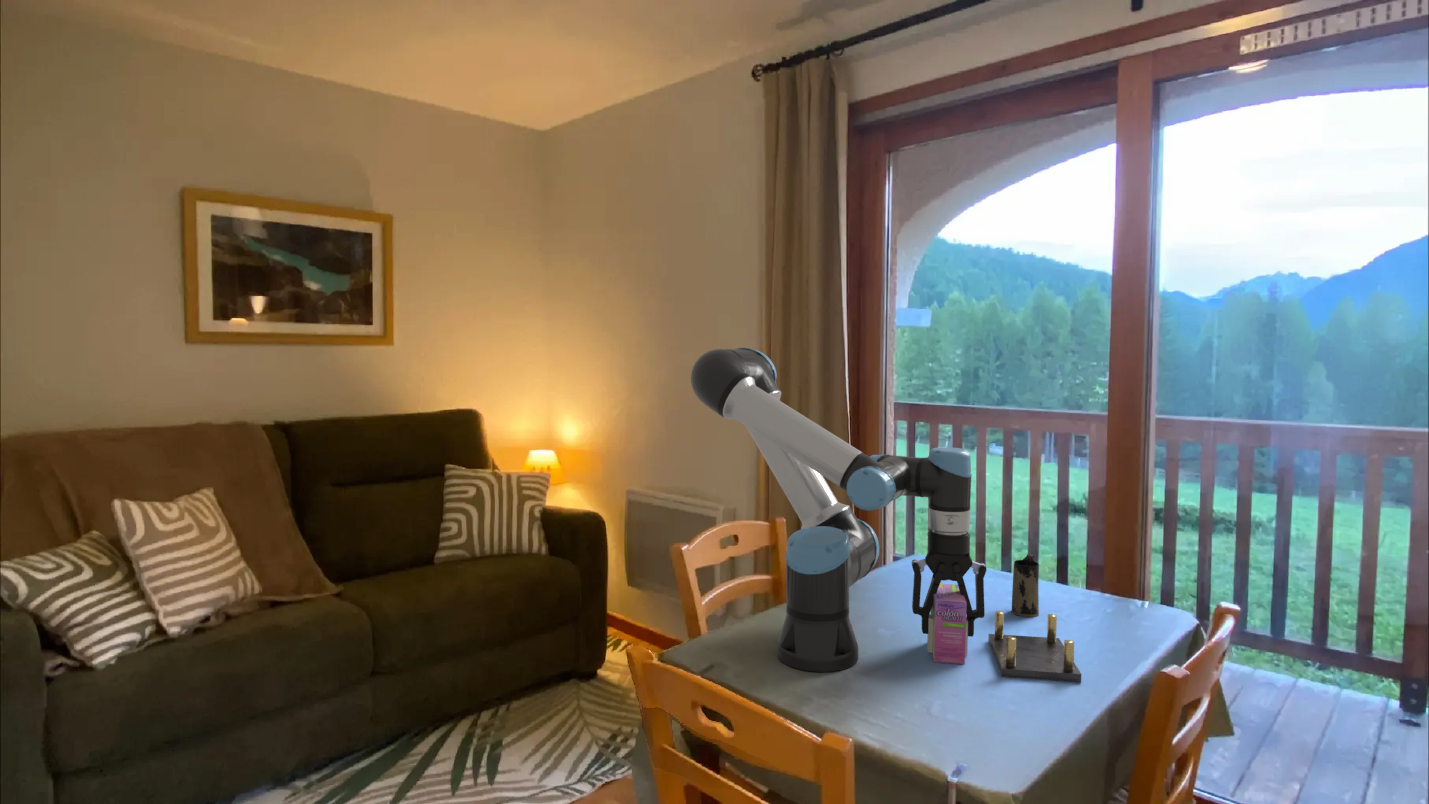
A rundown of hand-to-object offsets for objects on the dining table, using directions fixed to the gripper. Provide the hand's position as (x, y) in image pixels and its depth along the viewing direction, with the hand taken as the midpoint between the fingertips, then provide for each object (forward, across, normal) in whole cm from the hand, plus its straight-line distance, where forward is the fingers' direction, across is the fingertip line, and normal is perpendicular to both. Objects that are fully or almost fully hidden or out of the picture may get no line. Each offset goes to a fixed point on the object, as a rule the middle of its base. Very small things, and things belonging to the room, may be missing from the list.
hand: (947, 650), depth 151 cm
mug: (+1, +19, +27) cm, 33 cm away
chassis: (0, +15, -1) cm, 15 cm away
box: (+1, 0, 0) cm, 1 cm away
